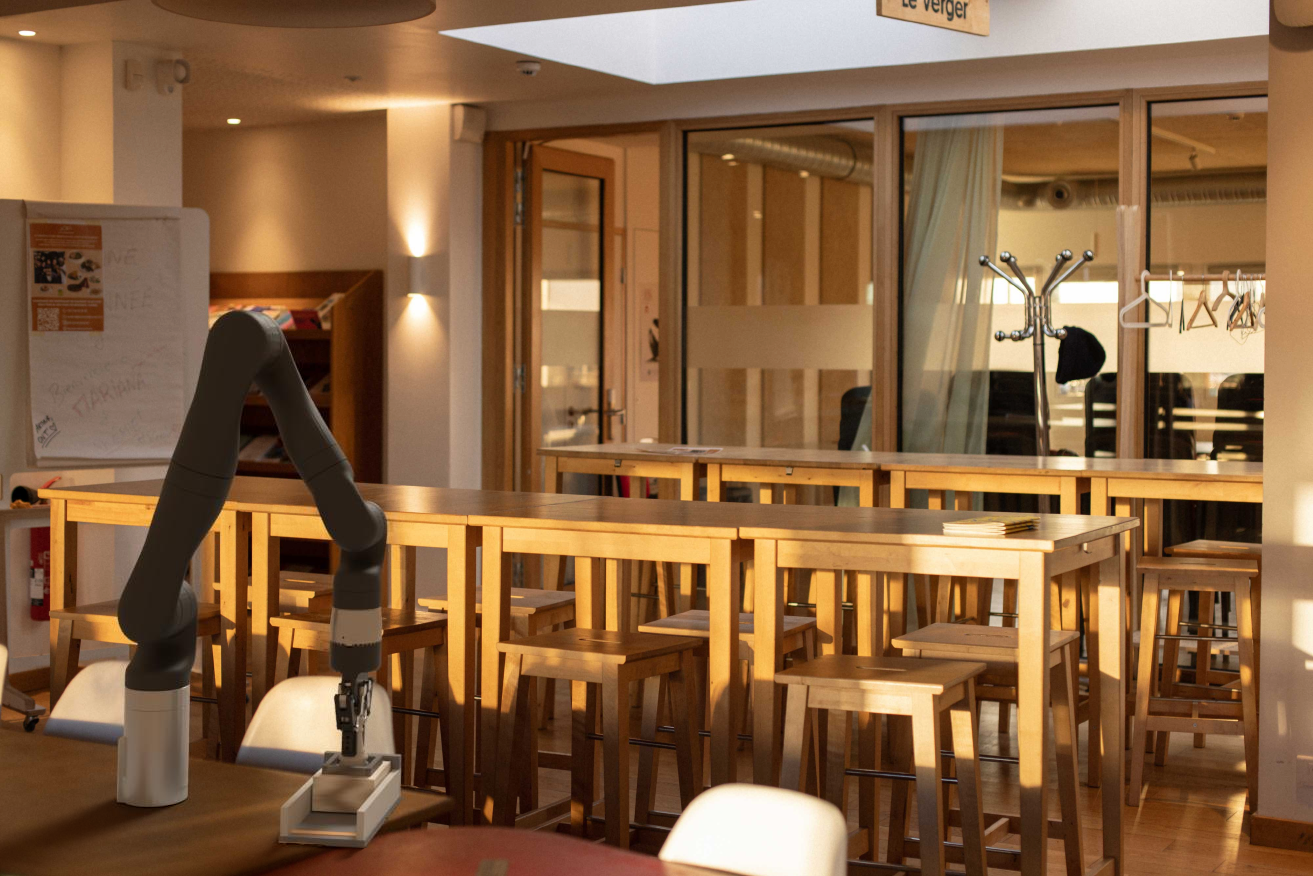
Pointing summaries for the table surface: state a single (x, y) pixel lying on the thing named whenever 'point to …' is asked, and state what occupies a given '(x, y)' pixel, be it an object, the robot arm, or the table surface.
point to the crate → (347, 784)
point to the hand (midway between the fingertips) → (352, 751)
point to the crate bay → (341, 813)
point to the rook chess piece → (361, 754)
